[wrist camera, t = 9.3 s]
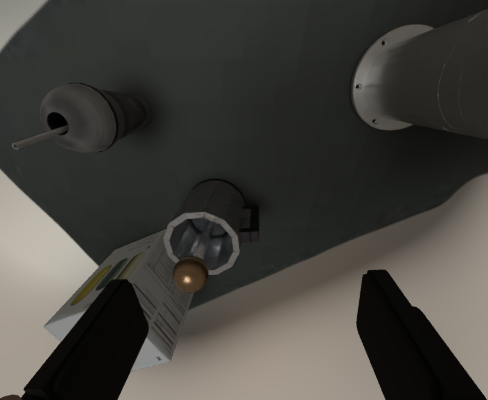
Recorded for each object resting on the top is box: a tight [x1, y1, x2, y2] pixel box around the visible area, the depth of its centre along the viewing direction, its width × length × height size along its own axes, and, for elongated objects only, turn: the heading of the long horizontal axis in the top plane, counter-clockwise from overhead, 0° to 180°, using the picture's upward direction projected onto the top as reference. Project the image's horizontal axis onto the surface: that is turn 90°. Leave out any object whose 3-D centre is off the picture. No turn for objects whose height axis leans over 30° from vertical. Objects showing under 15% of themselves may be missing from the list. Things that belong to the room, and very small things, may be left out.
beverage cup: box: [12, 83, 151, 152], centre depth 27 cm, size 7×7×20 cm
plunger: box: [172, 218, 227, 293], centre depth 32 cm, size 8×8×16 cm
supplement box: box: [44, 229, 194, 372], centre depth 41 cm, size 13×13×18 cm
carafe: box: [163, 179, 259, 275], centre depth 36 cm, size 13×10×12 cm
